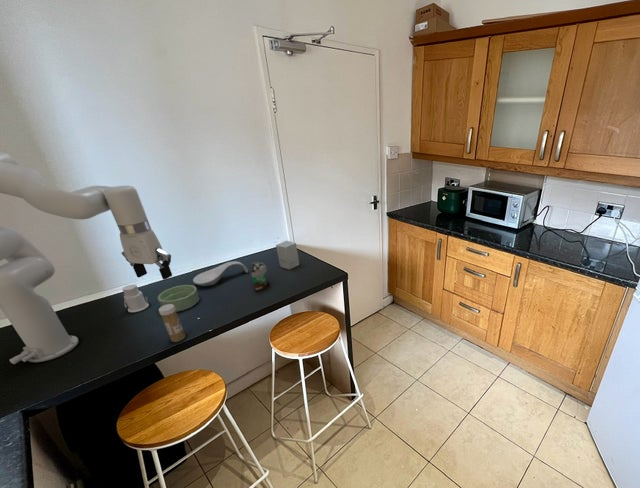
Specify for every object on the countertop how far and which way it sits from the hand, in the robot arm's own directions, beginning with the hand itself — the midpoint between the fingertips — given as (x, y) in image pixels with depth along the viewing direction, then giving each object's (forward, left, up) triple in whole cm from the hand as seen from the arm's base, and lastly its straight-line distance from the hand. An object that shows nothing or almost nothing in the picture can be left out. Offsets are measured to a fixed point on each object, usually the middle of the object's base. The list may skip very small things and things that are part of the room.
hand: (155, 276), depth 103 cm
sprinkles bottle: (-2, -2, -25) cm, 25 cm away
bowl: (+18, +15, -24) cm, 34 cm away
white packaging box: (+61, -12, -25) cm, 67 cm away
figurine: (+39, -10, -25) cm, 47 cm away
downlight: (+12, +30, -25) cm, 41 cm away
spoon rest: (+41, +13, -25) cm, 50 cm away
